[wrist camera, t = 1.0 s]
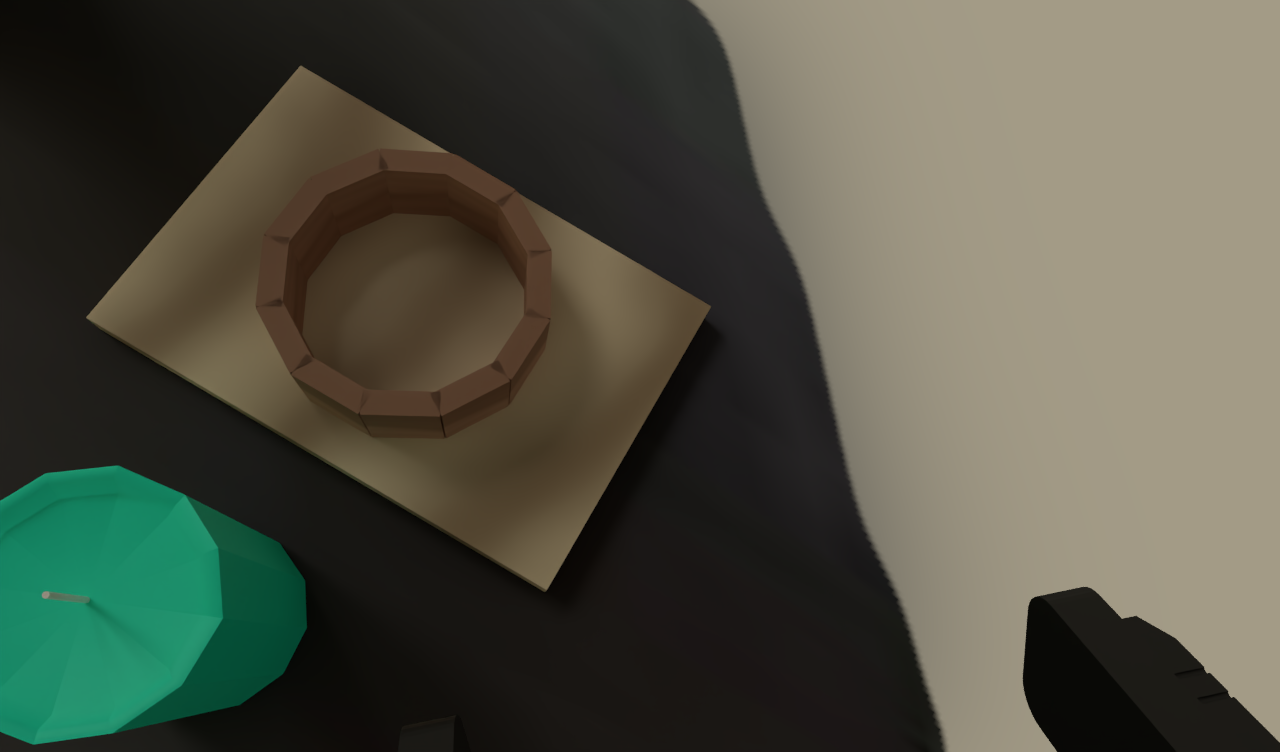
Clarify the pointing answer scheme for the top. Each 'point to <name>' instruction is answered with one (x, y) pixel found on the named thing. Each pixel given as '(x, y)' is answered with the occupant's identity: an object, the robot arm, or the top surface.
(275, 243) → the cup stand
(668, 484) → the top surface
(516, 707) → the top surface
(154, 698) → the candle
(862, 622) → the top surface
